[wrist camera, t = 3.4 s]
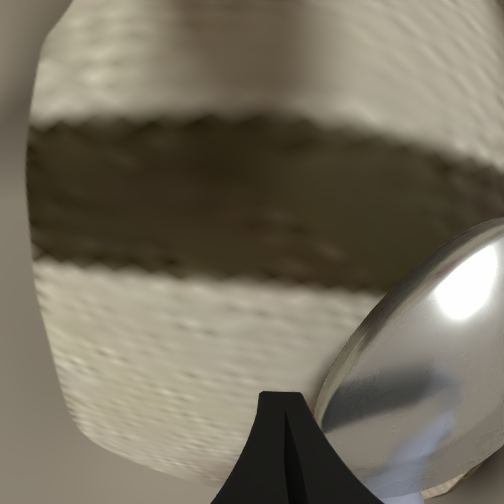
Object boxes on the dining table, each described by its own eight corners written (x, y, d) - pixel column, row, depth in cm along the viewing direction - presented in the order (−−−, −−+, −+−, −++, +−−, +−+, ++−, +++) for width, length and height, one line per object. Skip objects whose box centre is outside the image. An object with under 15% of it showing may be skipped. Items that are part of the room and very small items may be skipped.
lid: (492, 446, 12) (507, 471, 10) (285, 489, 12) (288, 530, 10) (591, 238, 8) (623, 254, 5) (361, 181, 8) (408, 196, 5)
